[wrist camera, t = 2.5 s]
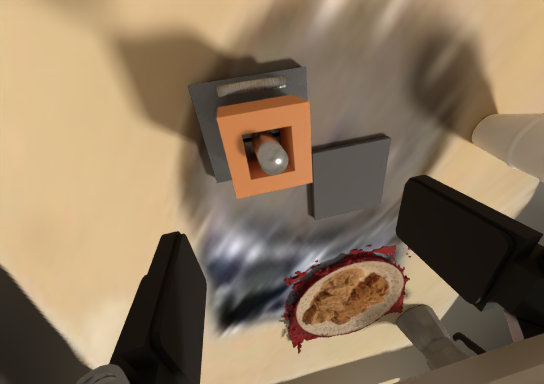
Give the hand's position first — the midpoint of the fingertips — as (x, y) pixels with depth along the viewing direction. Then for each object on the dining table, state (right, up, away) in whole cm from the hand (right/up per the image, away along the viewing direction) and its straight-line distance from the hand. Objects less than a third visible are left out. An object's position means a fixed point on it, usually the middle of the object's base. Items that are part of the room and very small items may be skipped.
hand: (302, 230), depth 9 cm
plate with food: (+13, -18, +34) cm, 41 cm away
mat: (+9, +3, +20) cm, 22 cm away
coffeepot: (+34, -28, +44) cm, 62 cm away
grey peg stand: (-3, +9, +14) cm, 17 cm away
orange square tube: (-2, +7, +11) cm, 13 cm away
